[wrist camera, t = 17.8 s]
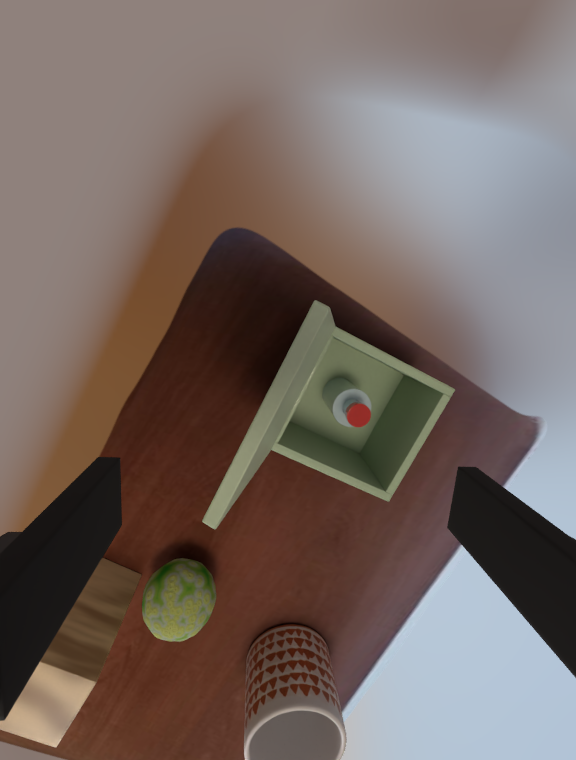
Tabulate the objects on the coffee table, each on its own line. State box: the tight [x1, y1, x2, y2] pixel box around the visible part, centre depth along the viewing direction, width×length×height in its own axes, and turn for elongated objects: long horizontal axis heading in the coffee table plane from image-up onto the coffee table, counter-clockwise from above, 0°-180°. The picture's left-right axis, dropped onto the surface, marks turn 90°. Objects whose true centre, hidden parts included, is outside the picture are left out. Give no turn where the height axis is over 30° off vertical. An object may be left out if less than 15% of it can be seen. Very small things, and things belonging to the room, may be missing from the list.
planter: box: [244, 624, 346, 760], centre depth 54 cm, size 14×14×13 cm
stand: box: [0, 558, 142, 747], centre depth 47 cm, size 10×10×16 cm
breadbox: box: [271, 326, 455, 502], centre depth 46 cm, size 16×15×12 cm
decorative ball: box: [142, 558, 216, 641], centre depth 50 cm, size 10×10×10 cm
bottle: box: [322, 377, 371, 427], centre depth 46 cm, size 5×5×10 cm
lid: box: [202, 300, 335, 529], centre depth 29 cm, size 17×15×1 cm
